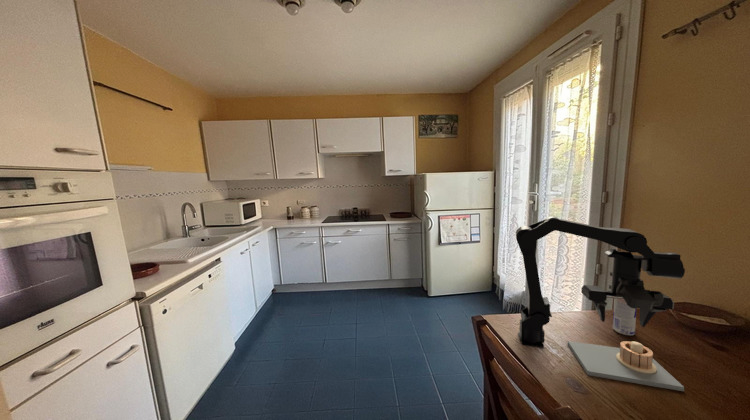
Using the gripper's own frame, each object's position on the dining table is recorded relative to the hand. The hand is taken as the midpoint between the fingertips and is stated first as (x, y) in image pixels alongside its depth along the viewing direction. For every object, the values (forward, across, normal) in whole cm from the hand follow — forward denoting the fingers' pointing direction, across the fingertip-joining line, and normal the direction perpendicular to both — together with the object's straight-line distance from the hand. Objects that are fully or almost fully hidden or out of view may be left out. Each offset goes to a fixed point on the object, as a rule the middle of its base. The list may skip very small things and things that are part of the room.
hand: (621, 323), depth 74 cm
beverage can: (+12, +9, +18) cm, 23 cm away
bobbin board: (+12, -1, -2) cm, 12 cm away
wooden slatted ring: (+10, +3, -2) cm, 10 cm away
